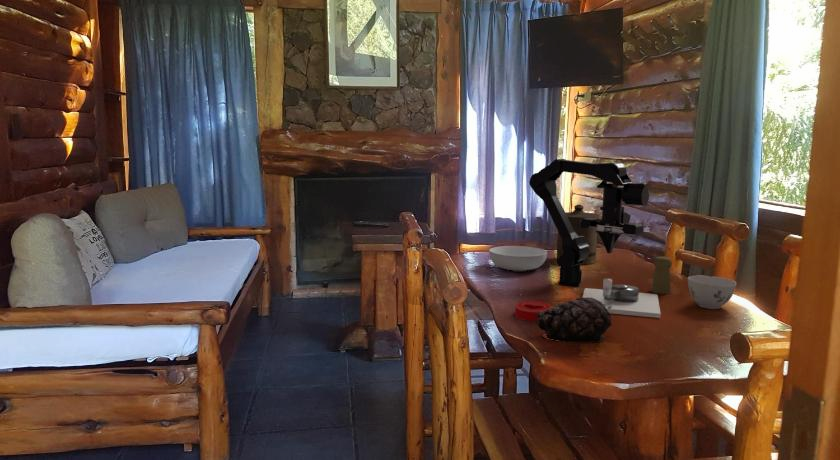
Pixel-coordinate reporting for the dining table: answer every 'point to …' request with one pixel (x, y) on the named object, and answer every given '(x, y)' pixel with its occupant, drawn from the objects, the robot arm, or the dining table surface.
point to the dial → (619, 291)
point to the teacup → (711, 290)
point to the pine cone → (575, 321)
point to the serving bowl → (517, 257)
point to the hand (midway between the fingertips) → (609, 253)
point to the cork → (662, 276)
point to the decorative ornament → (530, 309)
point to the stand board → (628, 304)
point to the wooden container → (581, 233)
